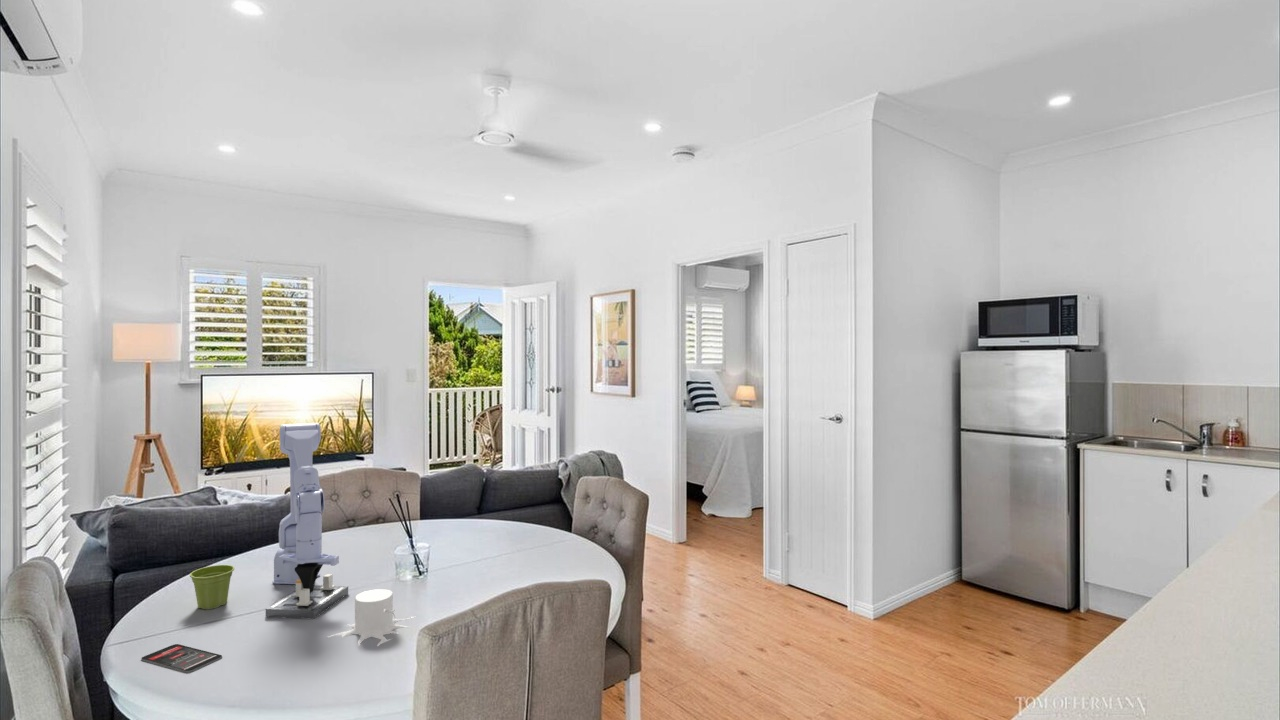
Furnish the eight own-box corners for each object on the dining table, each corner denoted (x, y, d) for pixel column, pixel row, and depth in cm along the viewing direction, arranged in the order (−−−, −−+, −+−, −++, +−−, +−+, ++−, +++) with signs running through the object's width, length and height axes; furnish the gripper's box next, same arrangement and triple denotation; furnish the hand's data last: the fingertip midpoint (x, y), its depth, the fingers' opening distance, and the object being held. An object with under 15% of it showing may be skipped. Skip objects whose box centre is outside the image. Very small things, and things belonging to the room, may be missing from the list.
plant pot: (186, 615, 154) (186, 579, 154) (192, 601, 163) (192, 567, 163) (232, 608, 159) (232, 573, 159) (236, 595, 167) (236, 562, 167)
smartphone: (176, 643, 139) (224, 655, 133) (176, 646, 139) (224, 659, 133) (139, 658, 132) (188, 671, 127) (139, 661, 132) (188, 675, 127)
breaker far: (320, 589, 165) (320, 576, 165) (324, 586, 168) (325, 573, 167) (330, 590, 165) (330, 576, 165) (335, 586, 167) (335, 574, 167)
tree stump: (361, 657, 135) (361, 619, 135) (311, 634, 145) (311, 599, 145) (438, 624, 151) (438, 590, 151) (388, 606, 162) (388, 574, 162)
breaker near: (296, 605, 155) (296, 591, 155) (301, 601, 157) (301, 588, 157) (307, 605, 155) (307, 591, 155) (312, 602, 157) (312, 588, 157)
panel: (265, 617, 154) (265, 608, 154) (304, 592, 170) (304, 584, 170) (313, 618, 153) (313, 610, 153) (348, 593, 169) (348, 586, 169)
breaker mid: (292, 596, 160) (292, 580, 160) (297, 593, 163) (298, 577, 163) (303, 597, 160) (303, 581, 160) (308, 593, 162) (308, 578, 162)
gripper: (271, 542, 158) (271, 597, 158) (328, 544, 157) (328, 599, 157) (288, 534, 165) (288, 587, 165) (343, 536, 164) (343, 588, 164)
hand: (308, 592), depth 161 cm, fingers closed
